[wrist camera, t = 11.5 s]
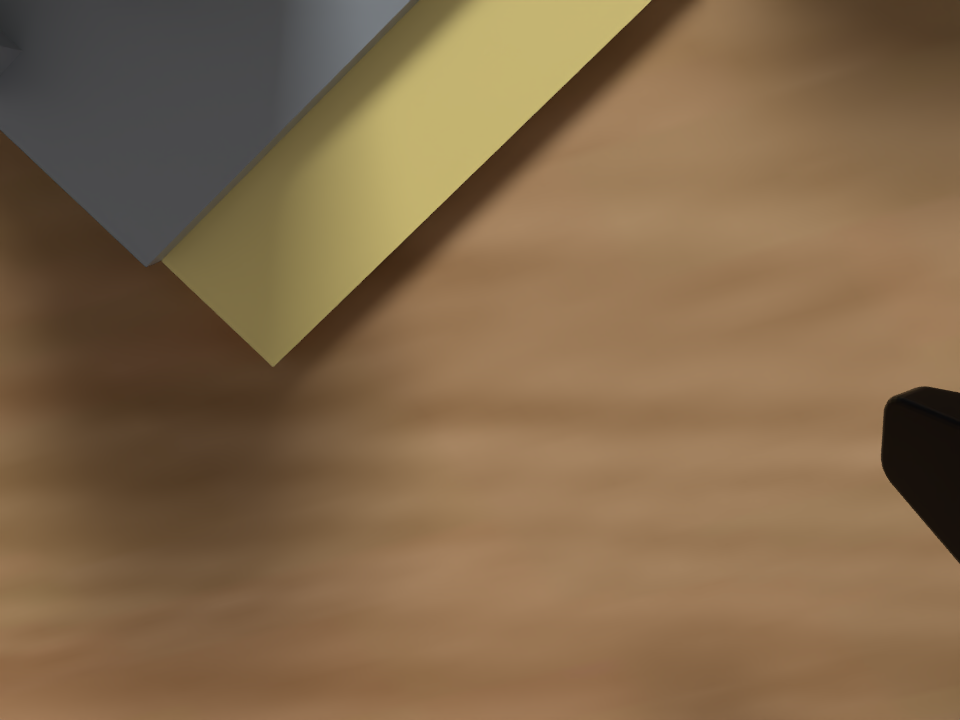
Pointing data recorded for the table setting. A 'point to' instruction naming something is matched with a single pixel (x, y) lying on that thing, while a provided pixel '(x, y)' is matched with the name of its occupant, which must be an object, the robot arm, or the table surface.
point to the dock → (279, 127)
